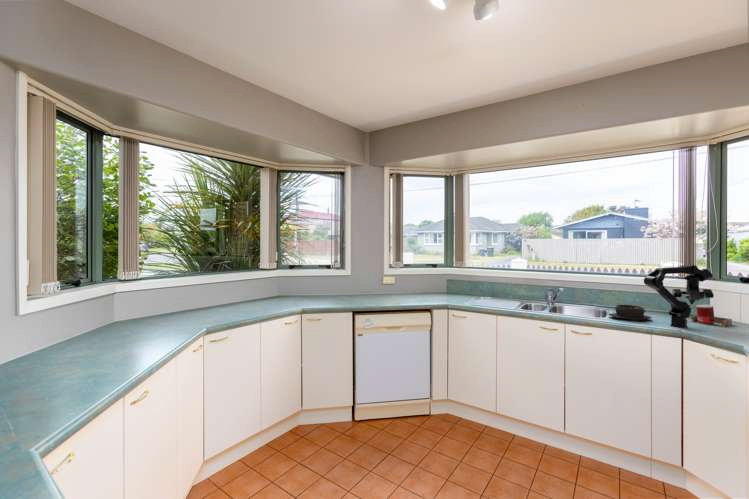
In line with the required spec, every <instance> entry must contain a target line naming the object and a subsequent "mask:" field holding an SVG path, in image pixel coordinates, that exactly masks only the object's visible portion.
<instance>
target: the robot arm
mask: <svg viewBox="0 0 749 499" xmlns="http://www.w3.org/2000/svg"><path fill="white" fill-rule="evenodd" d="M673 274H675V275H676V274H682V275H683V274H684V275H686V276H684V277H683V280H686V288H685V289H686V290H681V289H680V288H673V289H672V290H671V291H669V289H667V288H666V286H664V282H663V281H664V280H665V277H666V275H673ZM712 278H713V273H712V272H711V271H710V270H709V269H708V268H702V269H700V268H699V267H698V266H697V265H695V264H694V265H693V264H681V265H679V266H672V267H671V266H670V267H669V266H668V267H656V268H655V269H654V270H653V271H651V272H649V273H648V274H647V275H646V276H645V277H644V279H643V284H644V285H646V286H647V287H648V288H651V289H653V290H655V291H656V292H657V293H658V294H659V295H660V296H661V297H662V298H663V299H664V300H665V301H666V302H667V303H668V304H669V305H670V309H669V311H668V315H669V316H671V317H670V318H671V319H670V320H671V321H670V322H671V323H670V324H669V326H671V327H676V328H681V329H682V328H687V327H688V319H687V318H690V316H691V312H692V308H691V305H692V306H693V304H694V303H695V302H696V301H701V300H703V299H705V298H707V299H712V298H715V297H714V296H715V295H714V292H713V290H712V289H710V288H708V289H707V288H706V289H705V288H703V289H702V291H700V287H699V286H700V283H702V282H705V281H707V280H710V279H712ZM682 296H684V298H685V299H687V300H688V301H689V304H688V302H686V301H683V300H679V299H678V298H682Z"/></svg>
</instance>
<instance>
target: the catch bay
mask: <svg viewBox="0 0 749 499" xmlns="http://www.w3.org/2000/svg"><path fill="white" fill-rule="evenodd" d="M714 321H715V322H714V323H717V324H721V327H722V328H724V327H729V326H732V325H733V320H732V318H727V317H720V316H718V317H717V316H714ZM691 322H693V323H694V322H698V319H697V314H696V315H692V316H691Z"/></svg>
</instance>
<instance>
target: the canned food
mask: <svg viewBox="0 0 749 499" xmlns="http://www.w3.org/2000/svg"><path fill="white" fill-rule="evenodd" d="M696 315H697V319H698V321H697V322H698V323H700V324H702V323H703V324H702V325H704V324H705V325H713V324H715V323H716V322H715V321H714V317H715V310H714V305H712V304H697V305H696Z"/></svg>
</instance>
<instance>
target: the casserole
mask: <svg viewBox="0 0 749 499" xmlns="http://www.w3.org/2000/svg"><path fill="white" fill-rule="evenodd" d="M614 310H615V312H613V313H612V312H611V313H608V316H609V317H613V318H618V319H622V320H626V321H641V320H648V319H652V318H653V317H652V316H649V315H646V314H645V313H646V310H645V308H644V307H643V306H639V305H633V304H617V305H616V306H615V307H614Z"/></svg>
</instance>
